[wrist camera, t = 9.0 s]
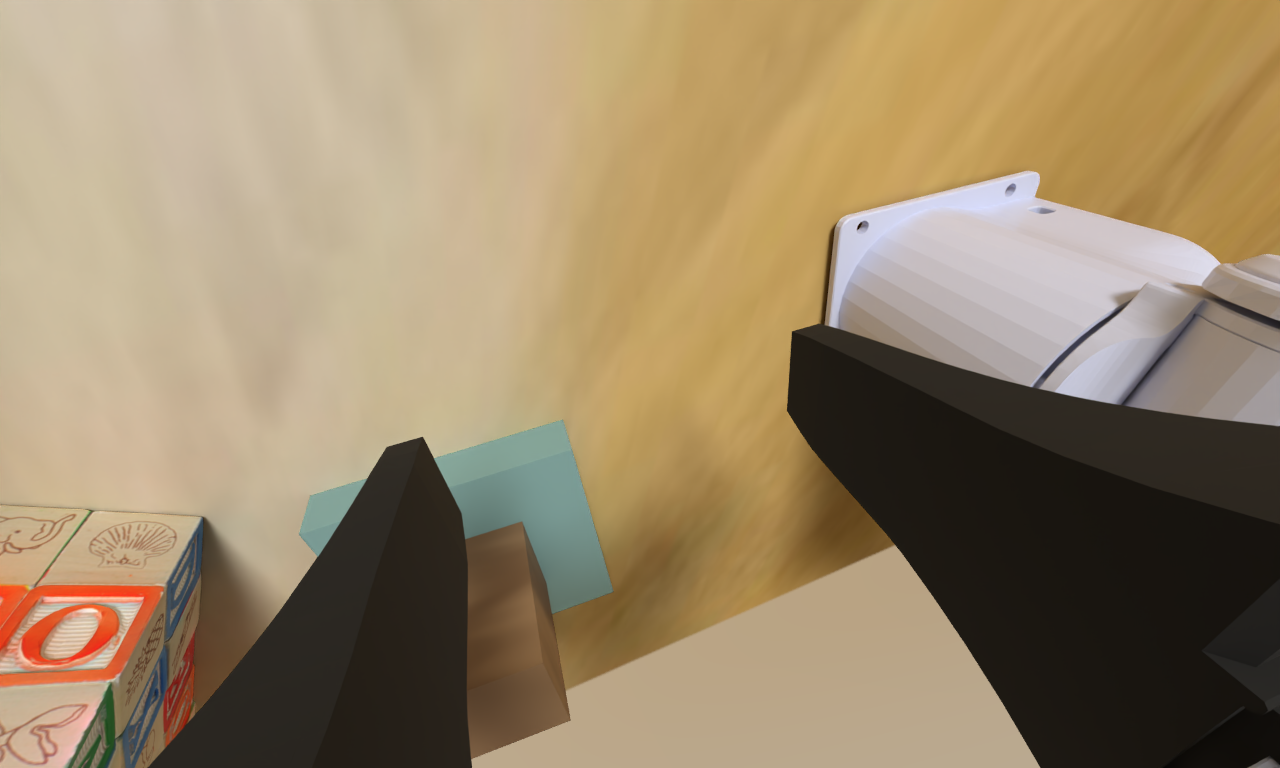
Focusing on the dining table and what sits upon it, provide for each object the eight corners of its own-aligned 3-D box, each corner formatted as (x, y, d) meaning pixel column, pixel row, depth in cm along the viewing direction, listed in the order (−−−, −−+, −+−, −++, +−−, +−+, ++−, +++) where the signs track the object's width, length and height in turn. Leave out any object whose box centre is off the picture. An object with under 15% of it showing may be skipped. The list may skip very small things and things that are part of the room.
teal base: (560, 411, 22) (571, 449, 20) (601, 552, 28) (613, 591, 26) (313, 485, 20) (298, 534, 18) (413, 617, 26) (411, 665, 24)
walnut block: (522, 521, 21) (542, 662, 16) (546, 583, 24) (570, 720, 19) (410, 556, 20) (397, 716, 15) (448, 616, 23) (447, 768, 18)
